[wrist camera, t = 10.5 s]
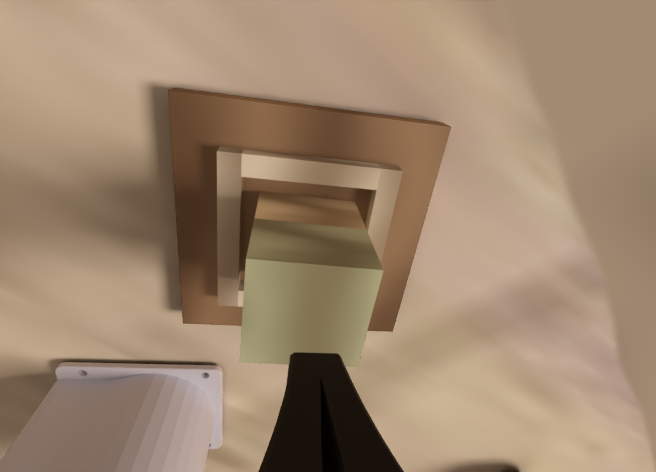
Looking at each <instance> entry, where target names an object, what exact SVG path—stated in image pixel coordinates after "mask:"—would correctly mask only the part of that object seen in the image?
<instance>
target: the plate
mask: <svg viewBox="0 0 656 472" xmlns="http://www.w3.org/2000/svg"><path fill="white" fill-rule="evenodd" d="M168 96H169V112H170V127H171V143H172V159H173V175H174V190H175V206H176V222H177V237H178V253H179V269H180V285H181V300H182V316H183V323H185V324H211V325H237V326H242V313H243V297H244V281H245V265H246V256H247V251H248V246H249V242H250V237H251V232H252V227H253V222H254V218H255V213H256V208H257V203H258V198H259V194H260V191H266V192H274V193H283V194H292V195H301V196H309V197H318V198H327V199H336V200H344V201H353V202H355V203H356V206H357V208H358V211H359V213H360V215H361V218H362V220H363V222H364V225H365V227H366V230H367V232H368V234H369V237H370V239H371V241H372V244H373V246H374V249H375V251H376V253H377V256H378V258H379V260H380V263H381V265H382V268H383V270H384V271H383V275H382V278H381V282H380V286H379V289H378V293H377V297H376V300H375V304H374V308H373V311H372V315H371V319H370V323H369V326H368V330H367V331H392V332H393V329H394V325H395V322H396V318H397V315H398V311H399V308H400V304H401V301H402V297H403V294H404V290H405V287H406V283H407V280H408V276H409V273H410V269H411V266H412V262H413V259H414V255H415V252H416V248H417V245H418V241H419V238H420V234H421V231H422V227H423V224H424V220H425V217H426V213H427V210H428V206H429V203H430V199H431V196H432V192H433V189H434V185H435V182H436V178H437V175H438V171H439V168H440V164H441V161H442V157H443V154H444V150H445V147H446V143H447V140H448V136H449V133H450V129H451V127H450V126H448V125H446V124H444V123H440V122H432V121H425V120H417V119H410V118H402V117H394V116H387V115H379V114H371V113H364V112H356V111H348V110H341V109H333V108H325V107H318V106H310V105H302V104H295V103H287V102H279V101H272V100H264V99H256V98H249V97H241V96H233V95H226V94H218V93H211V92H203V91H195V90H188V89H180V88H174V89H171V90H168Z"/></svg>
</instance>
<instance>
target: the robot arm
mask: <svg viewBox="0 0 656 472" xmlns="http://www.w3.org/2000/svg"><path fill="white" fill-rule="evenodd" d="M55 373H56V377H57V381H56V382H55V384H54V385H53V386H52V388H51V389H50V391H49V392H48V394H47V395H46V396H45V398H44V399H43V401H42V402H41V404H40V405H39V406H38V408H37V409H36V411H35V412H34V414H33V415H32V416H31V418H30V419H29V421H28V422H27V423H26V425H25V426H24V428H23V429H22V431H21V432H20V433H19V435H18V436H17V438H16V439H15V441H14V442H13V443H12V445H11V446H10V448H9V449H8V451H7V452H6V453H5V455H4V456H3V458H2V459H1V461H0V472H204V469H205V464H206V459H207V454H208V449H217V448H219V447H221V445H222V439H223V371H222V369H221V368H220V367H219V366H215V365H171V364H127V363H82V362H63V363H60V364H59V365H58V367H57V368H56V369H55ZM259 472H404V471H403V470H402V468H401V467H400V465H399V464H398V462H397V461H396V459H395V457H394V456H393V454H392V453H391V451H390V449H389V448H388V446H387V445H386V443H385V441H384V440H383V438H382V436H381V435H380V433H379V431H378V430H377V428H376V426H375V424H374V422H373V421H372V419H371V417H370V415H369V414H368V412H367V410H366V408H365V406H364V404H363V403H362V401H361V399H360V397H359V395H358V393H357V391H356V389H355V387H354V385H353V383H352V381H351V379H350V376H349V374H348V372H347V370H346V367H345V365H344V363H343V360H342V358H341V356H340V355H339V354H338V353H303V352H294V353H293V354H291V355H290V360H289V369H288V377H287V386H286V390H285V395H284V399H283V402H282V405H281V409H280V412H279V416H278V419H277V422H276V425H275V428H274V431H273V434H272V437H271V440H270V442H269V445H268V448H267V451H266V453H265V456H264V459H263V462H262V464H261V467H260V469H259Z"/></svg>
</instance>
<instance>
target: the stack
mask: <svg viewBox="0 0 656 472" xmlns="http://www.w3.org/2000/svg"><path fill="white" fill-rule="evenodd" d="M383 271H384V270H383V268H382V265H381V263H380V260H379V258H378V256H377V253H376V251H375V249H374V246H373V244H372V241H371V239H370V237H369V234H368V232H367V230H366V227H365V225H364V222H363V220H362V218H361V215H360V213H359V211H358V208H357V206H356V203H355V202H353V201H344V200H336V199H327V198H318V197H309V196H301V195H292V194H283V193H274V192H266V191H260V194H259V198H258V203H257V208H256V213H255V218H254V222H253V227H252V232H251V237H250V242H249V246H248V251H247V256H246V265H245V281H244V297H243V313H242V329H241V345H240V361H239V362H246V363H271V364H289V360H290V355H291V354H293V353H294V352H303V353H338V354H339V355H340V356H341V358H342V360H343V363H344V365H345V366H346V367H358V363H359V359H360V356H361V352H362V348H363V345H364V341H365V337H366V334H367V330H368V326H369V323H370V319H371V315H372V311H373V308H374V304H375V300H376V297H377V293H378V289H379V286H380V282H381V278H382V275H383Z"/></svg>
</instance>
